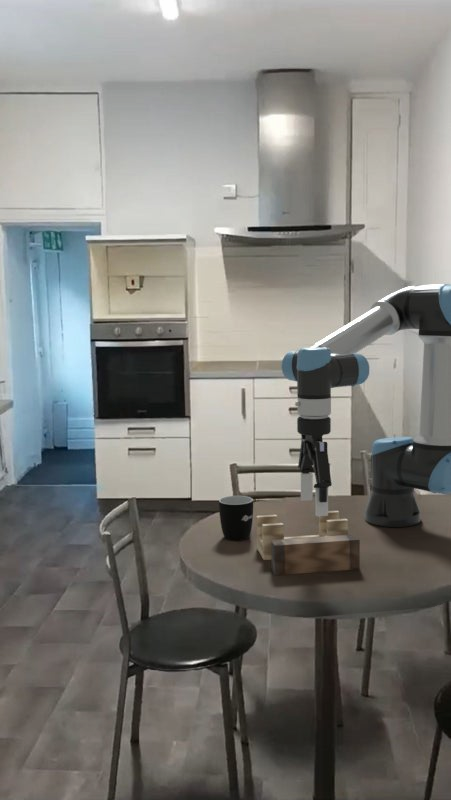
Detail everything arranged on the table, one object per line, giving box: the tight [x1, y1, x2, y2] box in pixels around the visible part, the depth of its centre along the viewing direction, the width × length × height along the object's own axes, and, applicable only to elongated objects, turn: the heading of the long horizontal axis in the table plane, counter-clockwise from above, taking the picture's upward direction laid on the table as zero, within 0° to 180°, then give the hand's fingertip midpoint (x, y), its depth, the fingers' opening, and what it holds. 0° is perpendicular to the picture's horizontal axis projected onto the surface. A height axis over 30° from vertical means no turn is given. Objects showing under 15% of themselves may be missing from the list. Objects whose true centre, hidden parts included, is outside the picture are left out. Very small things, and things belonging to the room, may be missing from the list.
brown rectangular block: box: [270, 534, 361, 576], centre depth 187 cm, size 20×4×7 cm, turn 98°
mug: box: [218, 495, 254, 542], centre depth 213 cm, size 12×9×10 cm
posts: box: [255, 510, 349, 561], centre depth 199 cm, size 21×9×8 cm, turn 98°
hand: (313, 507), depth 185 cm, fingers open, 13 cm apart
